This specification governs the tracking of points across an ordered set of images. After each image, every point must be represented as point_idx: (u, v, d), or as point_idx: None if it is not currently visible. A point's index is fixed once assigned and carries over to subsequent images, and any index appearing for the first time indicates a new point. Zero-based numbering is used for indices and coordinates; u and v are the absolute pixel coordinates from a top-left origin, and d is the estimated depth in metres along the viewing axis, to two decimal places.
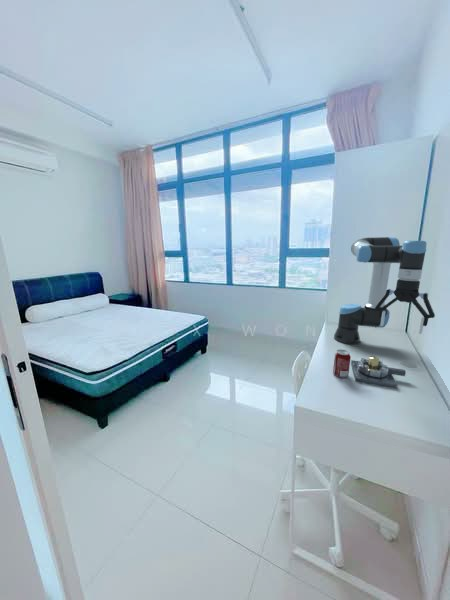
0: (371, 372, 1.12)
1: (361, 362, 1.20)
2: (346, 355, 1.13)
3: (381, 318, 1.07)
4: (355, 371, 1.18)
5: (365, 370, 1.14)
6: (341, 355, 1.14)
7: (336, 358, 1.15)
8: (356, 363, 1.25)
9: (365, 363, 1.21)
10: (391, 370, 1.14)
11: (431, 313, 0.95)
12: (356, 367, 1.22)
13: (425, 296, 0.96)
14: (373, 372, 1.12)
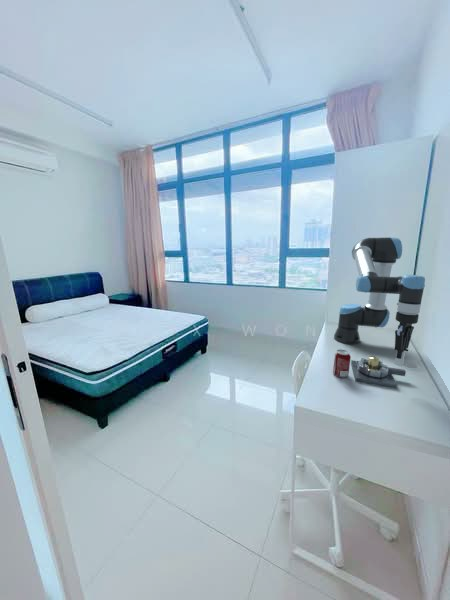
0: (371, 372, 1.12)
1: (361, 362, 1.20)
2: (346, 355, 1.13)
3: None
4: (355, 371, 1.18)
5: (365, 370, 1.14)
6: (341, 355, 1.14)
7: (336, 358, 1.15)
8: (356, 363, 1.25)
9: (365, 363, 1.21)
10: (391, 370, 1.14)
11: None
12: (356, 367, 1.22)
13: None
14: (373, 372, 1.12)
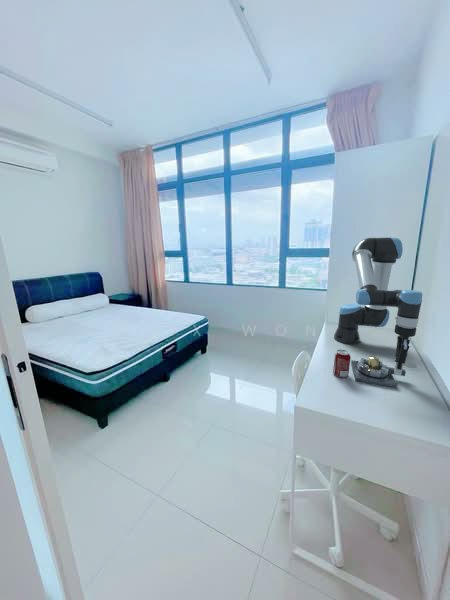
0: (371, 372, 1.12)
1: (361, 362, 1.20)
2: (346, 355, 1.13)
3: None
4: (355, 371, 1.18)
5: (365, 370, 1.14)
6: (341, 355, 1.14)
7: (336, 358, 1.15)
8: (356, 363, 1.25)
9: (365, 363, 1.21)
10: (391, 370, 1.14)
11: (398, 359, 1.08)
12: (356, 367, 1.22)
13: (401, 346, 1.05)
14: (373, 372, 1.12)
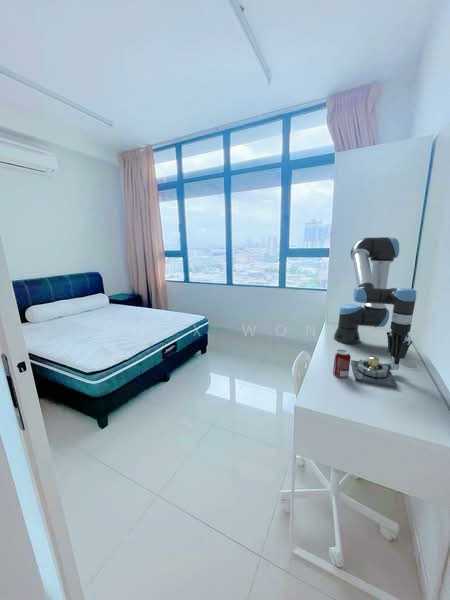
0: (379, 373, 1.11)
1: (361, 364, 1.18)
2: (346, 355, 1.13)
3: (391, 362, 1.17)
4: (355, 371, 1.18)
5: (372, 372, 1.12)
6: (341, 355, 1.14)
7: (336, 358, 1.15)
8: (356, 363, 1.25)
9: (363, 364, 1.20)
10: (388, 366, 1.17)
11: (399, 355, 1.12)
12: (356, 367, 1.22)
13: (405, 343, 1.08)
14: (380, 373, 1.11)
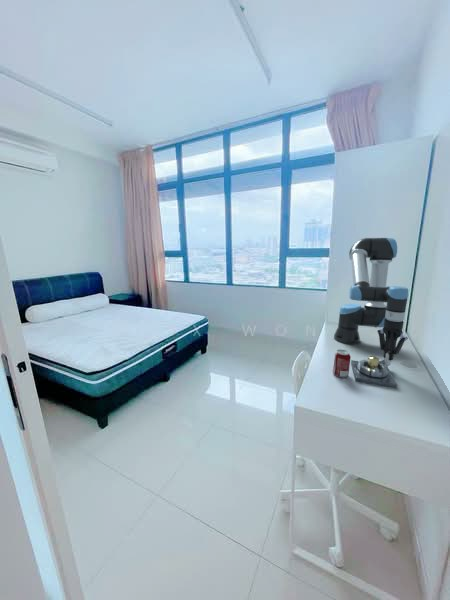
0: (384, 373, 1.11)
1: (363, 366, 1.16)
2: (346, 355, 1.13)
3: (385, 358, 1.20)
4: (355, 371, 1.18)
5: (378, 373, 1.11)
6: (341, 355, 1.14)
7: (336, 358, 1.15)
8: (356, 363, 1.25)
9: None
10: (383, 363, 1.20)
11: (395, 351, 1.15)
12: (356, 367, 1.22)
13: (402, 339, 1.12)
14: (384, 372, 1.12)
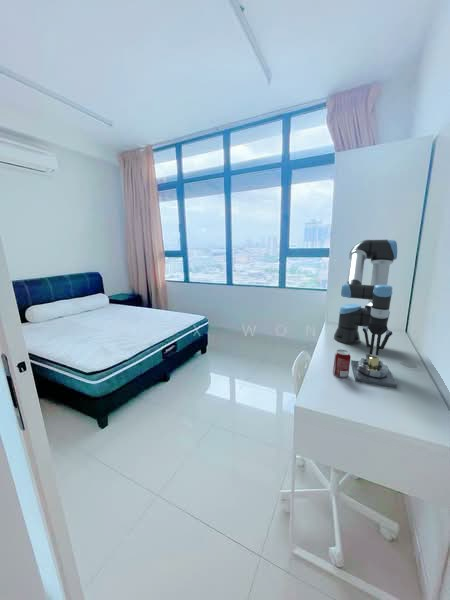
0: None
1: (370, 369, 1.13)
2: (346, 355, 1.13)
3: (372, 355, 1.24)
4: (355, 371, 1.18)
5: (386, 372, 1.12)
6: (341, 355, 1.14)
7: (336, 358, 1.15)
8: (356, 363, 1.25)
9: None
10: None
11: (383, 346, 1.21)
12: (356, 367, 1.22)
13: (390, 334, 1.18)
14: None
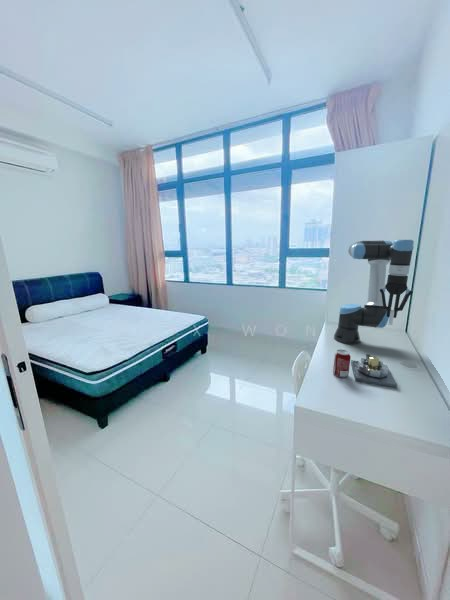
0: None
1: (370, 369, 1.13)
2: (346, 355, 1.13)
3: (389, 317, 1.15)
4: (355, 371, 1.18)
5: (386, 372, 1.12)
6: (341, 355, 1.14)
7: (336, 358, 1.15)
8: (356, 363, 1.25)
9: None
10: None
11: (402, 307, 1.12)
12: (356, 367, 1.22)
13: (410, 293, 1.09)
14: None
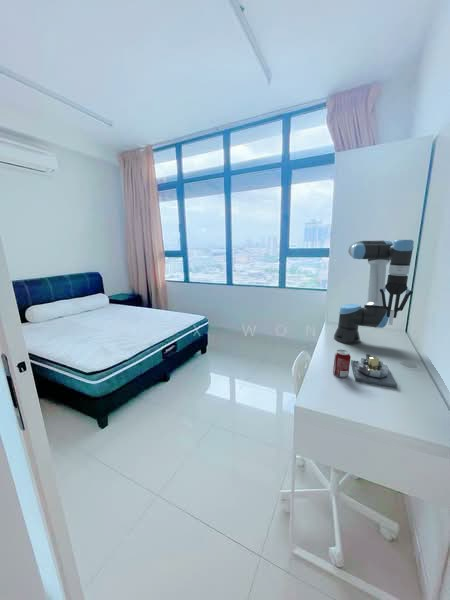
0: None
1: (370, 369, 1.13)
2: (346, 355, 1.13)
3: (389, 317, 1.15)
4: (355, 371, 1.18)
5: (386, 372, 1.12)
6: (341, 355, 1.14)
7: (336, 358, 1.15)
8: (356, 363, 1.25)
9: None
10: None
11: (402, 307, 1.12)
12: (356, 367, 1.22)
13: (410, 293, 1.09)
14: None
